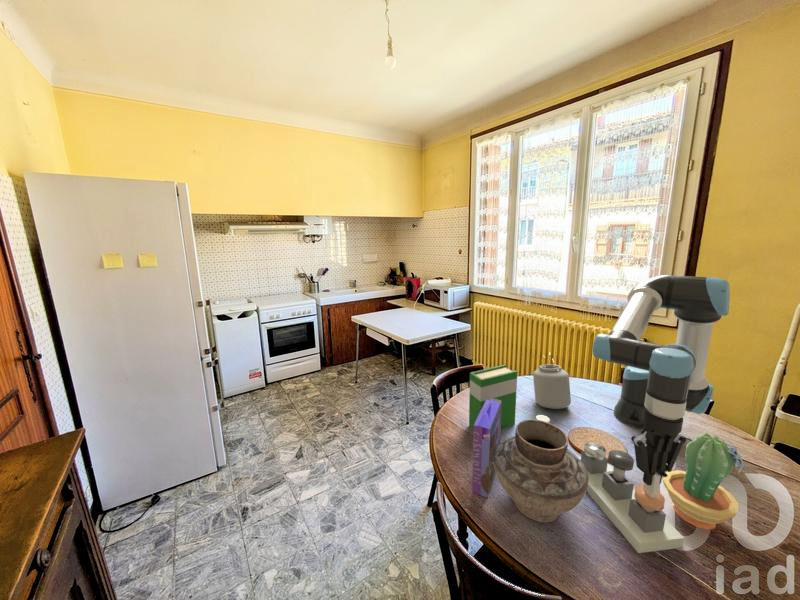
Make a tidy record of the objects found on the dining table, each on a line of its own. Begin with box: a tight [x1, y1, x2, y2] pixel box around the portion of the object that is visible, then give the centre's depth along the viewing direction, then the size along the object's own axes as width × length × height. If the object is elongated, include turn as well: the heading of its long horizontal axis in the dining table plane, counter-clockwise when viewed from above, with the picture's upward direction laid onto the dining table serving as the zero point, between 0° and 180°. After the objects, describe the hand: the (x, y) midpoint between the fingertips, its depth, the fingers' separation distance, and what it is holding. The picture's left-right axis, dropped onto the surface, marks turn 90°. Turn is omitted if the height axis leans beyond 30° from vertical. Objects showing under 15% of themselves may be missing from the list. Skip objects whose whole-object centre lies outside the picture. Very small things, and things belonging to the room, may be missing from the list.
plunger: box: [583, 441, 607, 460], centre depth 102 cm, size 6×6×7 cm
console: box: [577, 448, 685, 554], centre depth 93 cm, size 12×30×8 cm, turn 5°
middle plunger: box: [607, 449, 635, 481], centre depth 91 cm, size 6×6×7 cm
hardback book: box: [468, 364, 518, 430], centre depth 129 cm, size 18×7×24 cm, turn 112°
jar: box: [532, 351, 572, 410], centre depth 143 cm, size 19×15×25 cm
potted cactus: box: [662, 432, 745, 531], centre depth 85 cm, size 15×15×25 cm
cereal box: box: [471, 398, 502, 499], centre depth 102 cm, size 17×5×24 cm, turn 152°
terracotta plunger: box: [634, 484, 666, 514], centre depth 82 cm, size 6×6×7 cm
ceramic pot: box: [493, 419, 589, 523], centre depth 91 cm, size 25×25×24 cm
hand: (649, 493), depth 81 cm, fingers closed
